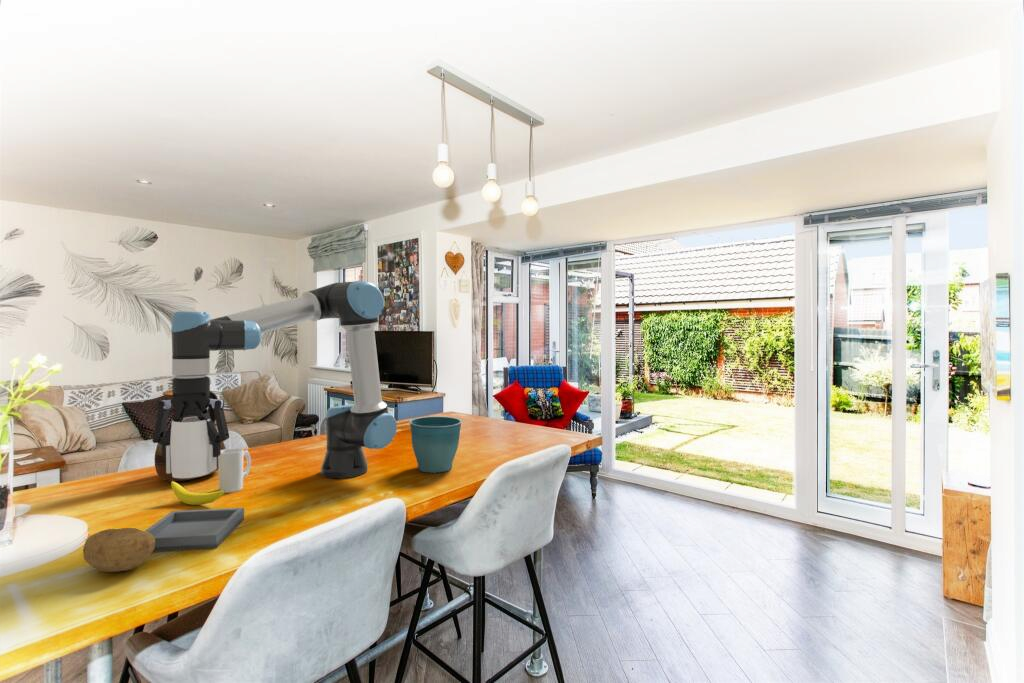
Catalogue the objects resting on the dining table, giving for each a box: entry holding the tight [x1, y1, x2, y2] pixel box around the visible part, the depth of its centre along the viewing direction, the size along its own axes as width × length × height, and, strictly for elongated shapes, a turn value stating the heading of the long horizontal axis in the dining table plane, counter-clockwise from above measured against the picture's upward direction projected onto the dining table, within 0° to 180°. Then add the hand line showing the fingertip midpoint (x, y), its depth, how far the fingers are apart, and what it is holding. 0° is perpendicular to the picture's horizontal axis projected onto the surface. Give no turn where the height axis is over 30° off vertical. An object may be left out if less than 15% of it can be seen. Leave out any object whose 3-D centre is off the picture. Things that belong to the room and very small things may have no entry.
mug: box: [218, 447, 252, 494], centre depth 152 cm, size 10×7×12 cm, turn 155°
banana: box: [169, 480, 226, 506], centre depth 138 cm, size 3×19×6 cm, turn 75°
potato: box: [82, 527, 155, 573], centre depth 102 cm, size 10×14×8 cm
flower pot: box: [409, 416, 462, 474], centre depth 175 cm, size 18×18×17 cm
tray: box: [144, 507, 245, 553], centre depth 119 cm, size 17×17×3 cm
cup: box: [170, 417, 212, 478], centre depth 118 cm, size 8×8×14 cm
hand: (191, 471), depth 118 cm, fingers closed on cup, 8 cm apart
